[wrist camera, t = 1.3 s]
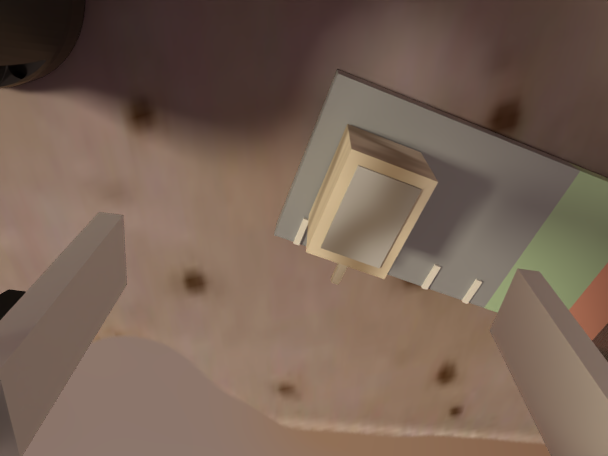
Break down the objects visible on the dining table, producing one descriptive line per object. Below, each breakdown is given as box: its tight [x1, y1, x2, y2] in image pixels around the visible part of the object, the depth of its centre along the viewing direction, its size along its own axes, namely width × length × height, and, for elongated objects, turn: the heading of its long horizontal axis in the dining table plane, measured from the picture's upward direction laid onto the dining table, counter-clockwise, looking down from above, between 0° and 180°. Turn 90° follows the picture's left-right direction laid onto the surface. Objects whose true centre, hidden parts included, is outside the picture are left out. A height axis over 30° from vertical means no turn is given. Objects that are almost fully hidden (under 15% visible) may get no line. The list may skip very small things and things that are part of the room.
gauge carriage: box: [306, 124, 438, 285], centre depth 34 cm, size 6×10×6 cm, turn 159°
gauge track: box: [274, 69, 608, 340], centre depth 38 cm, size 31×14×2 cm, turn 69°
